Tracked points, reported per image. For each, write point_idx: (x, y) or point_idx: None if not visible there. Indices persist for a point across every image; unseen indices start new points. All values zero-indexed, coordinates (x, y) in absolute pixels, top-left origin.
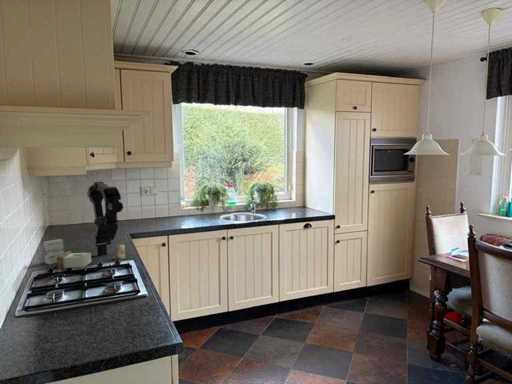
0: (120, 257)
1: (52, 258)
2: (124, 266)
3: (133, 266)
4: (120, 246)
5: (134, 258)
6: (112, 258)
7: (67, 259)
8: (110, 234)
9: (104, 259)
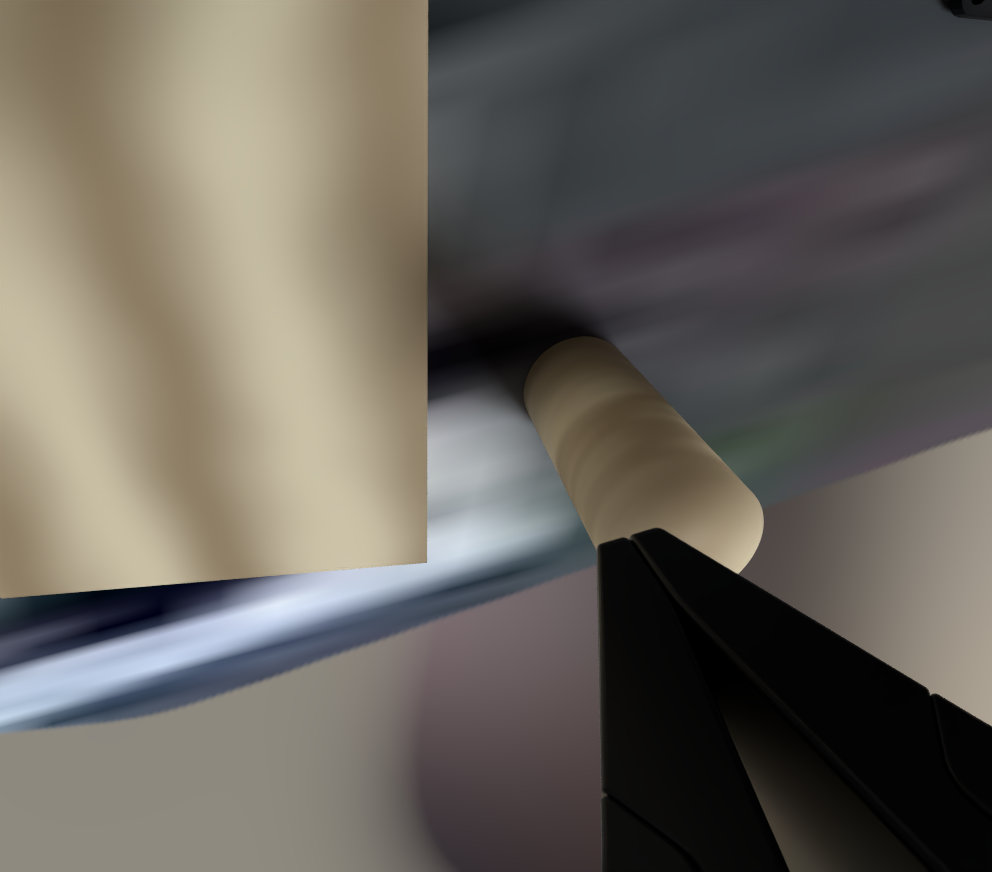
0: (537, 415)
1: None
2: None
3: (149, 646)
4: None
5: None
6: (764, 185)
7: None
8: (604, 811)
9: (749, 25)
